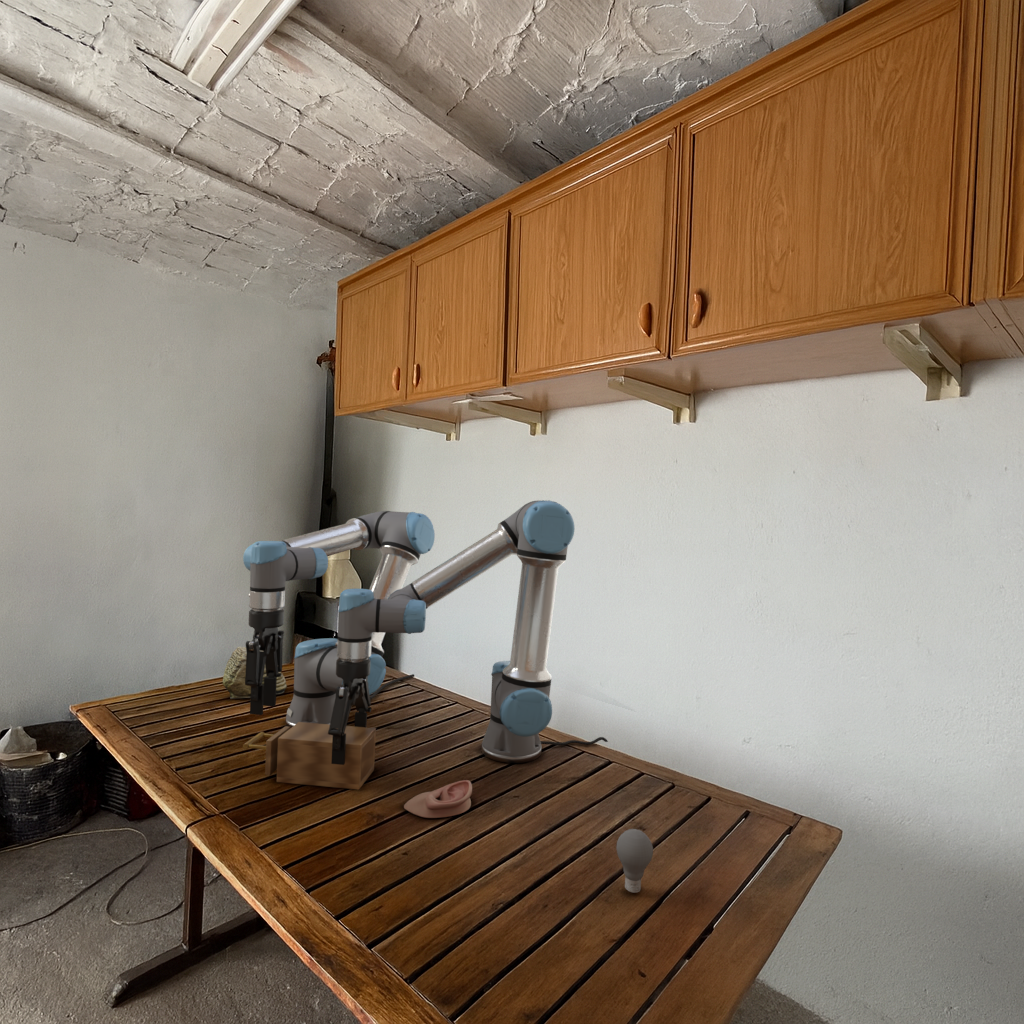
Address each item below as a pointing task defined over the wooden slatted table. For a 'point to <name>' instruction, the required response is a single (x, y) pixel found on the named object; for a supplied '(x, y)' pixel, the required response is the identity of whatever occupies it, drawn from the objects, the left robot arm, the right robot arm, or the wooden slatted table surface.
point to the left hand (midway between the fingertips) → (263, 709)
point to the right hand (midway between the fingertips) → (349, 751)
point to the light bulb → (634, 857)
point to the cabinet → (325, 756)
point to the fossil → (243, 676)
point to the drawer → (268, 748)
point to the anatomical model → (442, 801)
